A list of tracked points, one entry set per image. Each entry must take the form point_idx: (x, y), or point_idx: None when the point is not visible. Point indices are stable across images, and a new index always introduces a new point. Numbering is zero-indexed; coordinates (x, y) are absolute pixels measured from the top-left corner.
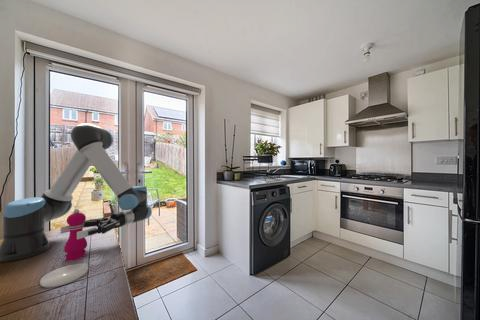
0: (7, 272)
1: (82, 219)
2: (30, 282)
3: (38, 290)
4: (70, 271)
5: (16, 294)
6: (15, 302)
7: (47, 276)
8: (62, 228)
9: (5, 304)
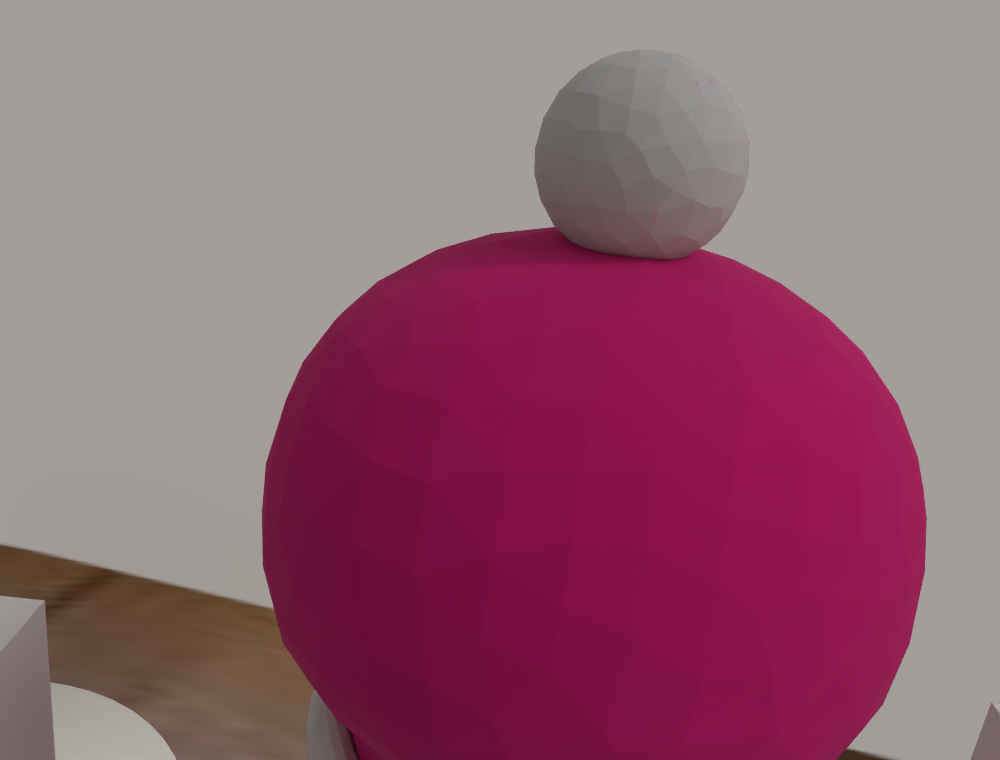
0: None
1: (269, 521)
2: (256, 716)
3: None
4: None
5: (161, 622)
6: (44, 587)
7: (111, 749)
8: (996, 756)
9: (101, 569)
